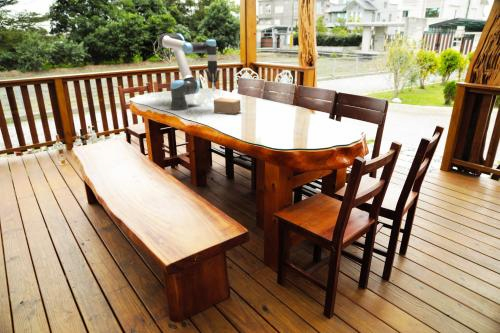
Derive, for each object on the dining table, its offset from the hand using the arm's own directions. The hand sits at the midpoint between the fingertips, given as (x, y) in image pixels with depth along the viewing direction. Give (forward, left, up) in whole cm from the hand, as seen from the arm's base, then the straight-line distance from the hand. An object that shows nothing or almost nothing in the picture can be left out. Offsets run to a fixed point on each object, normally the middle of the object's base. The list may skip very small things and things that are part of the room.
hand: (213, 90), depth 267 cm
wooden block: (+2, -2, -11) cm, 11 cm away
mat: (+12, 0, -17) cm, 21 cm away
